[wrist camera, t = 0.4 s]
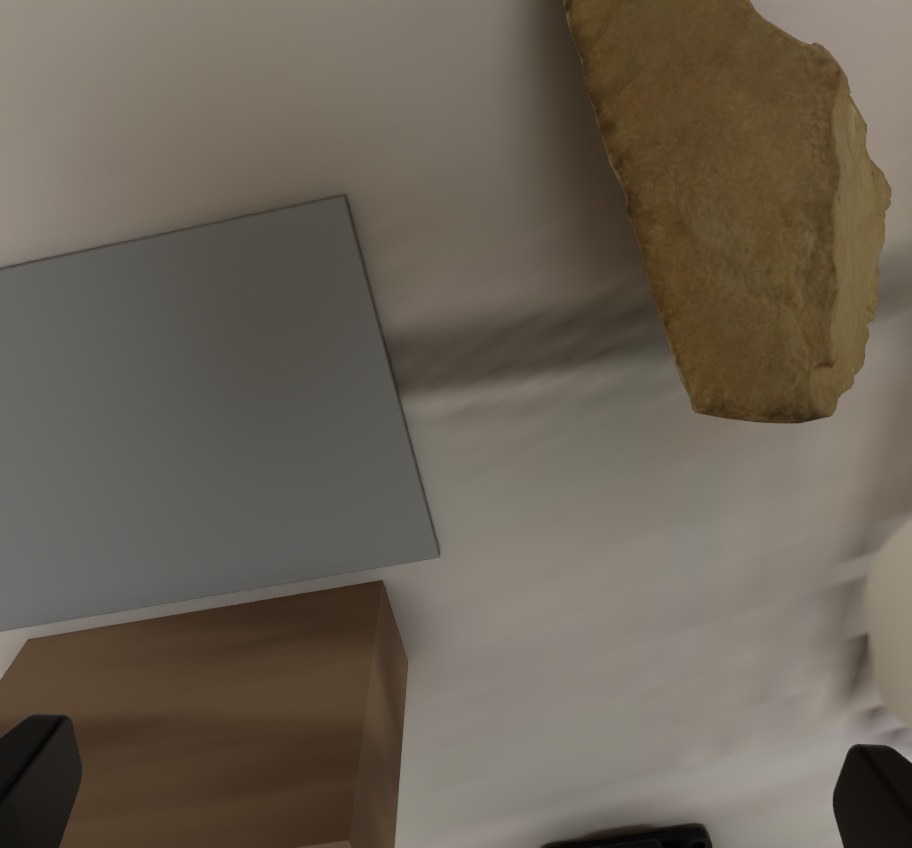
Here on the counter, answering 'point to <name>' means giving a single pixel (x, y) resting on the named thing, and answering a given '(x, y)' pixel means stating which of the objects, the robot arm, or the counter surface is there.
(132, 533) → the mat
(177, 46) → the counter surface
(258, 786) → the slab
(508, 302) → the counter surface
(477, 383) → the counter surface
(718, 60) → the rock
